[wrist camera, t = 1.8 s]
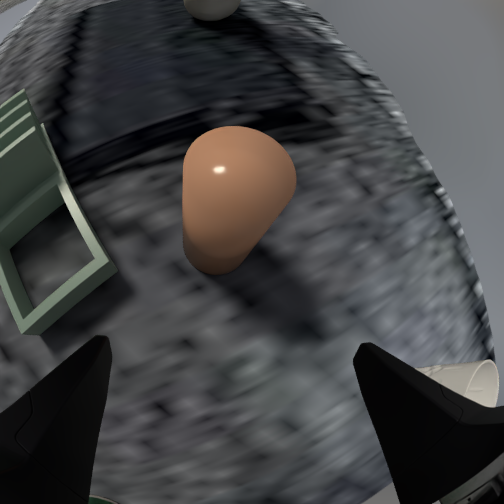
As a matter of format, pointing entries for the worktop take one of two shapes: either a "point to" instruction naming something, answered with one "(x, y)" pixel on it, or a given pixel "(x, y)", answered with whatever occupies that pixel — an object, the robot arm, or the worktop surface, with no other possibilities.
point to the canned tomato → (100, 500)
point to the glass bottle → (211, 8)
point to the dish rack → (38, 215)
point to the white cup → (468, 380)
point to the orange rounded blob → (232, 195)
